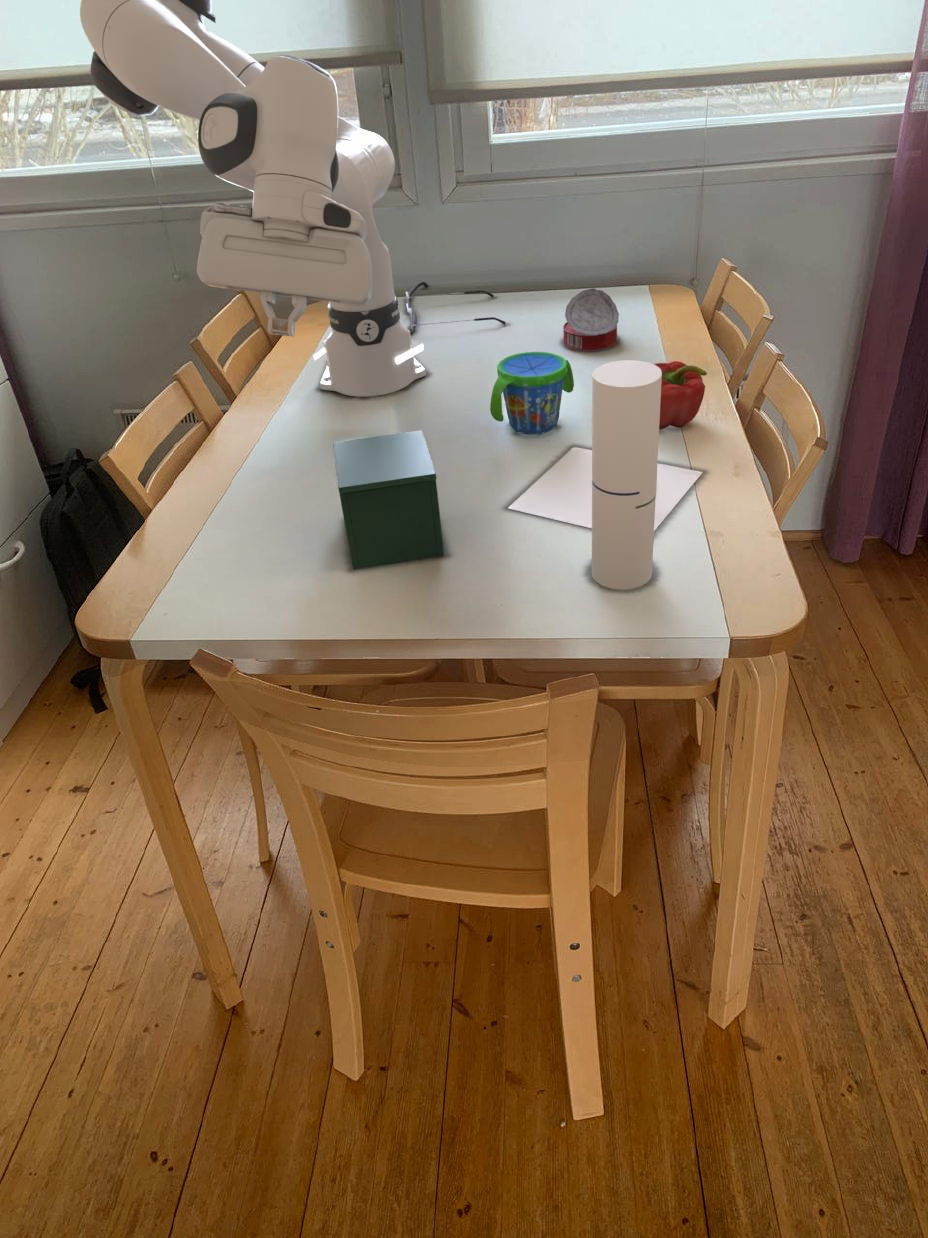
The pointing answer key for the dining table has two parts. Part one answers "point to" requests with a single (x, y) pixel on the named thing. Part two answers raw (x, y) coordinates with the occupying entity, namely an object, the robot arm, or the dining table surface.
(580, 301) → the canned food
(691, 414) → the vegetable
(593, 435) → the cylindrical container
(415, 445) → the tin lid
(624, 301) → the dining table surface
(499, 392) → the snack cup
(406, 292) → the eyeglasses
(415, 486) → the dark green hollow box
